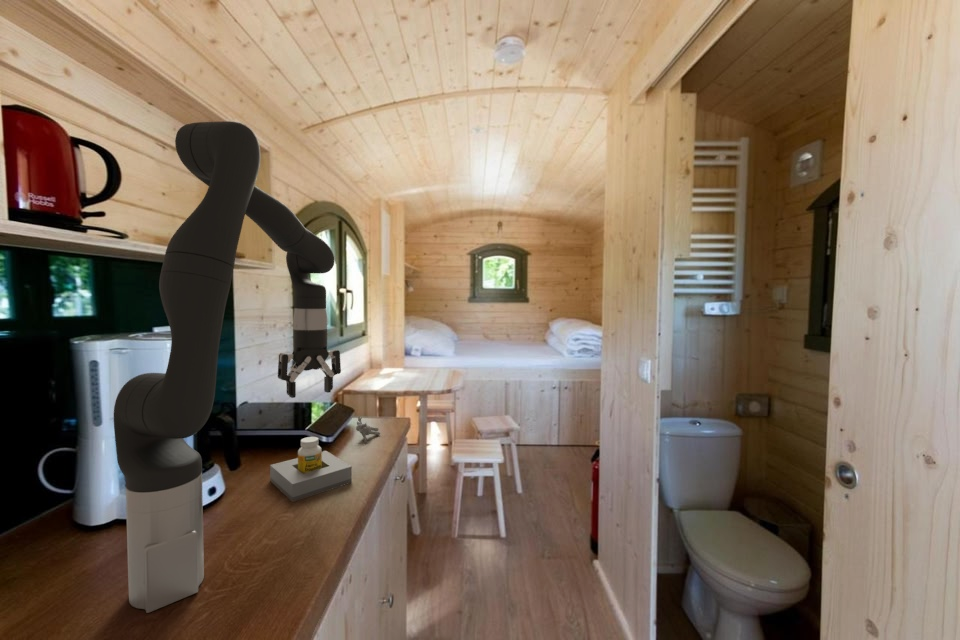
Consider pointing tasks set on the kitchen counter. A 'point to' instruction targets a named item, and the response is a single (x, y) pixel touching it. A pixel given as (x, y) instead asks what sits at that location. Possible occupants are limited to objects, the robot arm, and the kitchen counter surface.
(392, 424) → the kitchen counter surface
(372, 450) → the kitchen counter surface
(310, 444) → the supplement bottle
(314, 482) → the socket block
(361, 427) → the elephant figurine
